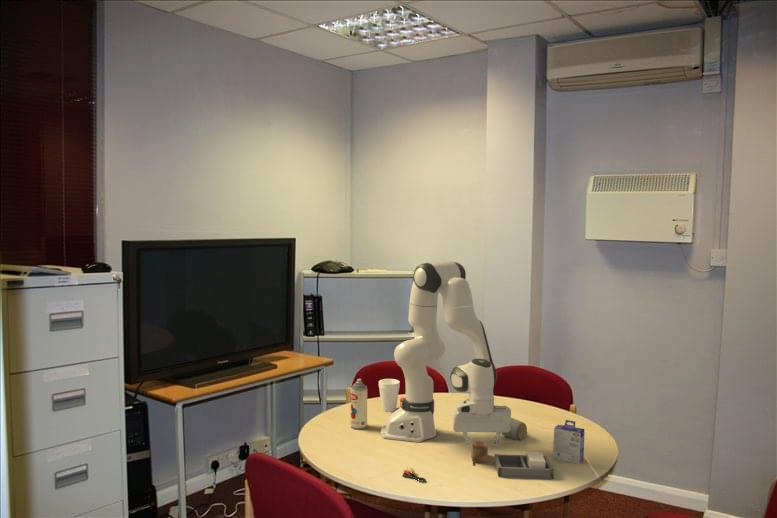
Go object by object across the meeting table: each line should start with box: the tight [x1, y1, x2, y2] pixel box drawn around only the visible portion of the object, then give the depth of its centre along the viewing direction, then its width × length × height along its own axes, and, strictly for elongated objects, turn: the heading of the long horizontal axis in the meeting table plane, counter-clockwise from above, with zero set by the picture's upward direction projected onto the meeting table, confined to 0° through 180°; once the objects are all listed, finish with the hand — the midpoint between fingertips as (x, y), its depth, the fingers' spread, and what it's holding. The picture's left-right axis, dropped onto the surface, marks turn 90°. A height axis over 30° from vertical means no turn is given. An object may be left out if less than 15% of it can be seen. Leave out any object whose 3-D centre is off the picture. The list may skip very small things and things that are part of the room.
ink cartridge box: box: [552, 419, 585, 465], centre depth 216 cm, size 10×6×14 cm, turn 58°
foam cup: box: [378, 378, 401, 413], centre depth 274 cm, size 10×9×13 cm
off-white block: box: [525, 451, 546, 468], centre depth 206 cm, size 5×8×5 cm, turn 176°
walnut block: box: [471, 440, 489, 467], centre depth 216 cm, size 5×8×6 cm, turn 176°
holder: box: [493, 453, 555, 480], centre depth 206 cm, size 18×12×4 cm, turn 86°
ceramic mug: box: [500, 417, 528, 441], centre depth 241 cm, size 11×8×8 cm
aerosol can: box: [350, 378, 368, 431], centre depth 250 cm, size 7×7×20 cm
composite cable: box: [402, 467, 427, 483], centre depth 201 cm, size 10×5×2 cm, turn 33°
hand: (481, 443), depth 215 cm, fingers open, 8 cm apart
